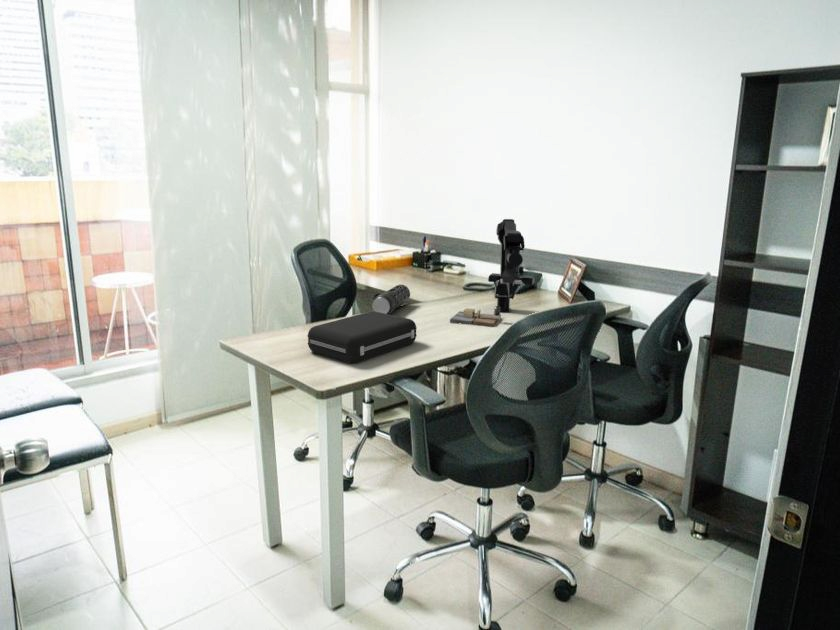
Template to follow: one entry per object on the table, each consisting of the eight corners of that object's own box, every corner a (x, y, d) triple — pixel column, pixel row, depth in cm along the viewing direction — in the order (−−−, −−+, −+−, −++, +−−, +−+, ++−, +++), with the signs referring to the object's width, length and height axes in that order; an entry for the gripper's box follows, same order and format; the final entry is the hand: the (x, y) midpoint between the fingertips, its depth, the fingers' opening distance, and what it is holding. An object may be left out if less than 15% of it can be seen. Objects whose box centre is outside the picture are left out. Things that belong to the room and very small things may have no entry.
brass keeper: (465, 315, 276) (466, 308, 275) (480, 316, 274) (480, 309, 273) (463, 317, 272) (463, 310, 272) (478, 318, 270) (478, 311, 269)
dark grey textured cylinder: (410, 305, 300) (410, 284, 297) (391, 319, 274) (390, 296, 271) (392, 304, 302) (392, 283, 300) (370, 318, 276) (370, 295, 274)
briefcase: (361, 329, 259) (361, 305, 257) (420, 343, 240) (420, 318, 237) (293, 349, 232) (292, 323, 230) (353, 367, 213) (352, 339, 210)
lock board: (459, 314, 283) (459, 311, 282) (500, 318, 277) (500, 315, 276) (449, 322, 269) (449, 319, 269) (492, 326, 263) (493, 323, 263)
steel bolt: (481, 316, 273) (482, 304, 271) (500, 318, 270) (500, 306, 269) (480, 317, 271) (480, 306, 269) (499, 319, 268) (499, 307, 267)
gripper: (485, 264, 257) (484, 301, 261) (531, 267, 251) (529, 304, 255) (492, 260, 267) (490, 295, 271) (535, 262, 261) (533, 299, 265)
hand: (510, 298), depth 265 cm, fingers closed
